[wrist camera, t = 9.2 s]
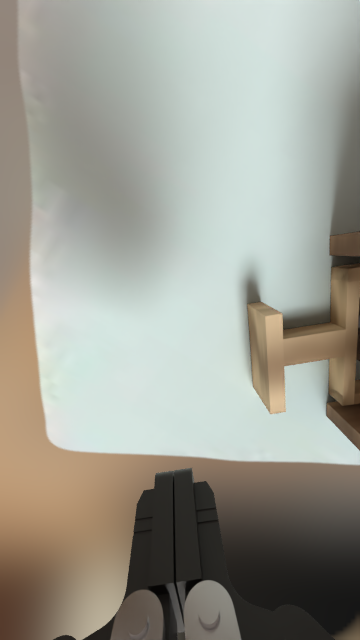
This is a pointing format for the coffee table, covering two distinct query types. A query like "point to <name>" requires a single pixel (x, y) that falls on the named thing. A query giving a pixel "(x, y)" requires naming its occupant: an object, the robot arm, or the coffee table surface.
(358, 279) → the drawer
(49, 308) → the coffee table surface
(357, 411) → the wooden arch frame
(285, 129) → the coffee table surface
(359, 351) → the wine glass
